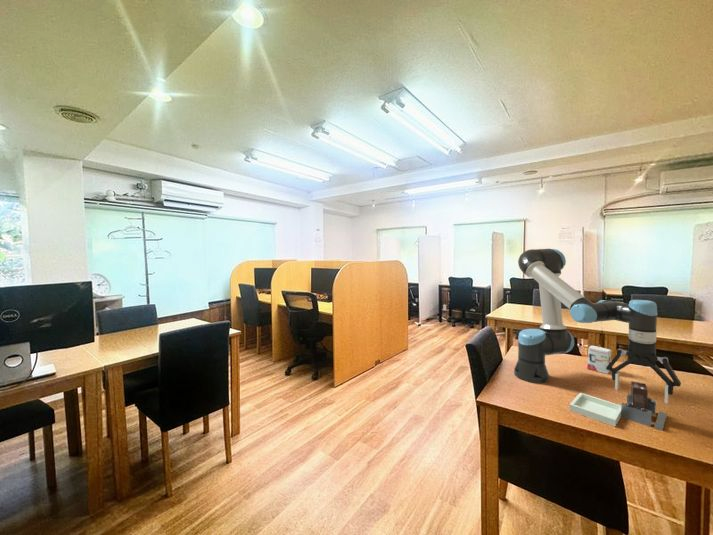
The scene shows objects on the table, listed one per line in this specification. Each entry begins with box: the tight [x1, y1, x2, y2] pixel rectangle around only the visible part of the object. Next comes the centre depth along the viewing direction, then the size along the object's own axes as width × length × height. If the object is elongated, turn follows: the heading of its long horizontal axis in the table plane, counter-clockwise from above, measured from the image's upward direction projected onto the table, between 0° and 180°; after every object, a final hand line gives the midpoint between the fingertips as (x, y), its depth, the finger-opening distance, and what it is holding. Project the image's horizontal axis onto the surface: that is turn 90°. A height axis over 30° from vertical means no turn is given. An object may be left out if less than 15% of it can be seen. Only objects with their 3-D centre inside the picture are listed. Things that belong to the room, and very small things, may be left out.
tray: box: [568, 392, 622, 427], centre depth 115 cm, size 14×14×3 cm
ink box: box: [587, 345, 612, 374], centre depth 150 cm, size 9×5×12 cm, turn 37°
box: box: [630, 381, 649, 409], centre depth 111 cm, size 6×4×12 cm
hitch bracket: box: [620, 392, 668, 431], centre depth 110 cm, size 11×13×6 cm
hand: (640, 395), depth 111 cm, fingers open, 13 cm apart
